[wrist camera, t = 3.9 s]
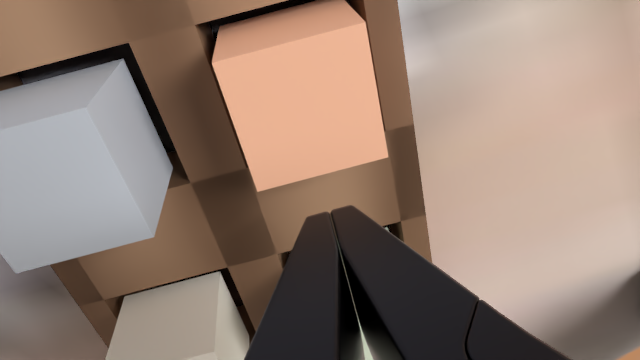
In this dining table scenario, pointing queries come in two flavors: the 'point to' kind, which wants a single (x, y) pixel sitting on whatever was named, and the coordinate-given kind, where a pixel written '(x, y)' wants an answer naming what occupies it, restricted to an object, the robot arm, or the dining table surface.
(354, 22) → the key terracotta
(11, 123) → the key slate
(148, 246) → the brown shallow tray
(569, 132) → the dining table surface
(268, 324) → the robot arm
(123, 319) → the cream white cube
